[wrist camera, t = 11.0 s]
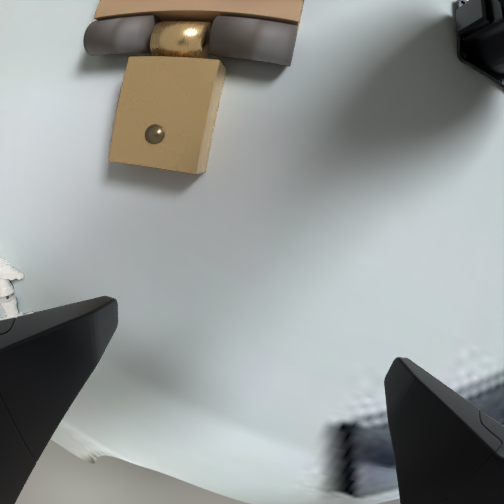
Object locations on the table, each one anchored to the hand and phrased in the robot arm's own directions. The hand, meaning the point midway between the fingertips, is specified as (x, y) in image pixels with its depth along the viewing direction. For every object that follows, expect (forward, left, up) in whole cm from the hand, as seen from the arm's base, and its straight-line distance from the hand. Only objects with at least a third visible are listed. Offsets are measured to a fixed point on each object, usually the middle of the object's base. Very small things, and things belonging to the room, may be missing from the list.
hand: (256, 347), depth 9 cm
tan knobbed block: (+8, -9, -12) cm, 17 cm away
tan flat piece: (+8, -17, -12) cm, 22 cm away
